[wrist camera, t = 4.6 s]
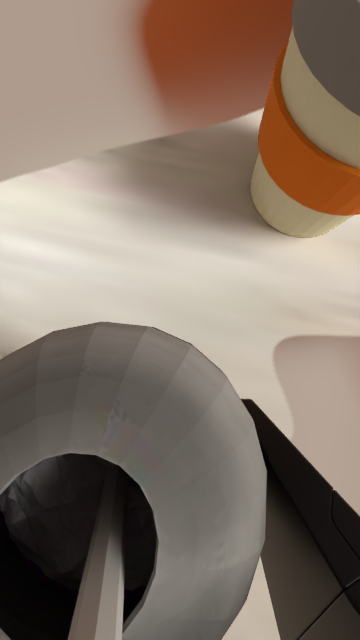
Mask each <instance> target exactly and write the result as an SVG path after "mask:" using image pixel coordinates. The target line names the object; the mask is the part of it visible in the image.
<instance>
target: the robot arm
mask: <svg viewBox="0 0 360 640" xmlns="http://www.w3.org/2000/svg"><path fill="white" fill-rule="evenodd" d="M241 401H242V402H243V404H244V406H245V407H246V409H247V411H248V412H249V414H250V416H251V417H252V419H253V421H254V425H255V429H256V433H257V436H258V440H259V444H260V448H261V452H262V455H263V459H264V463H265V467H266V471H267V481H266V525H265V541H264V544H263V548H262V551H261V554H260V556H261V560H262V564H263V569H264V573H265V577H266V581H267V585H268V589H269V593H270V597H271V602H272V606H273V610H274V614H275V618H276V622H277V626H278V630H279V635H280V639H281V640H360V516H359V515H358V514H357V513H356V512H355V511H354V510H353V509H352V507H351V506H349V504H348V503H347V502H346V501H345V500H344V499H343V498H342V497H341V496H340V495H339V494H338V492H337V491H335V490H333V487H332V486H331V485H330V484H329V483H328V482H327V481H326V480H325V479H324V477H323V476H322V475H321V474H320V473H319V472H318V471H317V470H316V469H315V468H314V467H313V466H312V464H311V463H310V462H309V461H308V460H307V459H306V458H305V457H304V456H303V455H302V454H301V452H300V451H299V450H298V449H297V448H296V447H295V446H294V445H293V444H292V443H291V442H290V441H289V439H288V438H287V437H286V436H285V435H284V434H283V433H282V432H281V431H280V430H279V429H278V427H277V426H276V425H275V424H274V423H273V422H272V421H271V420H270V419H269V418H268V417H267V416H266V414H265V413H264V412H263V411H262V410H261V409H260V408H259V407H258V406H257V405H256V404H255V402H254V401H253V400H251V399H241Z"/></svg>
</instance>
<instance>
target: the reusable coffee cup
mask: <svg viewBox="0 0 360 640" xmlns="http://www.w3.org/2000/svg"><path fill="white" fill-rule="evenodd" d="M292 22H293V28H292V32H291V36H290V39H289V41H288V42H287V43H286V44H285V46H284V47H283V48H282V50H281V52H280V54H279V57H278V59H277V61H276V64H275V68H274V72H273V76H272V80H271V85H270V88H269V92H268V96H267V100H266V104H265V108H264V112H263V116H262V120H261V124H260V129H259V134H258V145H259V152H258V156H257V160H256V163H255V167H254V171H253V174H252V178H251V184H250V189H251V197H252V200H253V203H254V205H255V207H256V209H257V211H258V213H259V214H260V215H261V217H262V218H263V219H264V220H265V221H266V222H267V223H268V224H269V225H270V226H272V227H274V228H275V229H277V230H278V231H280V232H282V233H285V234H287V235H290V236H295V237H302V238H310V237H317V236H320V235H323V234H325V233H327V232H329V231H330V230H332V229H333V228H335V227H337V226H338V225H340V224H341V223H343V222H344V221H346V220H347V219H349V218H351V217H352V216H354V215H357V214H360V0H294V5H293V10H292Z"/></svg>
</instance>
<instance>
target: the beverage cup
mask: <svg viewBox="0 0 360 640" xmlns="http://www.w3.org/2000/svg"><path fill="white" fill-rule="evenodd" d="M266 481H267V471H266V467H265V463H264V459H263V455H262V452H261V448H260V444H259V440H258V436H257V433H256V429H255V425H254V421H253V419H252V417H251V416H250V414H249V412H248V411H247V409H246V407H245V406H244V404H243V402H242V401H241V399H240V398H239V396H238V394H237V393H236V391H235V389H234V388H233V386H232V384H231V383H230V381H229V379H228V378H227V376H226V375H225V374H224V373H223V371H221V370H220V369H219V368H218V367H217V366H216V365H215V364H214V363H212V362H211V361H210V360H209V359H208V358H207V357H206V356H204V355H203V354H202V353H201V352H200V351H199V350H198V349H197V348H195V347H194V346H193V345H192V344H190V343H188V342H186V341H184V340H181V339H179V338H177V337H175V336H172V335H170V334H168V333H165V332H163V331H161V330H159V329H156V328H154V327H148V326H139V325H129V324H120V323H111V322H98V323H93V324H88V325H83V326H78V327H73V328H68V329H62V330H57V331H53V332H51V333H49V334H47V335H45V336H43V337H42V338H40V339H38V340H36V341H34V342H32V343H30V344H28V345H26V346H24V347H22V348H20V349H19V350H17V351H15V352H13V353H11V354H9V355H7V356H6V357H4V358H3V359H1V360H0V640H221V639H222V638H223V636H224V635H225V633H226V632H227V630H228V629H229V627H230V626H231V624H232V623H233V621H234V619H235V618H236V616H237V615H238V613H239V612H240V610H241V609H242V607H243V605H244V603H245V601H246V599H247V596H248V593H249V590H250V587H251V583H252V580H253V577H254V574H255V570H256V567H257V564H258V561H259V557H260V554H261V551H262V548H263V544H264V541H265V525H266Z"/></svg>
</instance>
